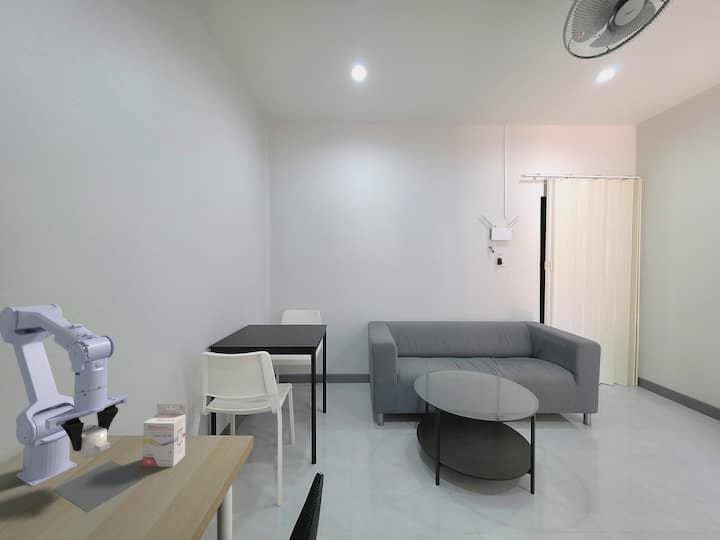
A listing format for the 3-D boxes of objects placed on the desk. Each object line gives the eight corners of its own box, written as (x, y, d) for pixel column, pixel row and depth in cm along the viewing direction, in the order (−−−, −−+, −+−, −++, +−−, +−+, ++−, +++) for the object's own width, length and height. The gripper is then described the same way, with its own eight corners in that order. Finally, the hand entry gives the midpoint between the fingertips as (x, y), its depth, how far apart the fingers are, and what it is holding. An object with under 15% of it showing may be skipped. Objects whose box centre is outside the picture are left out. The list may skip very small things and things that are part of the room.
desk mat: (52, 491, 63) (52, 489, 63) (111, 461, 73) (111, 460, 73) (87, 514, 57) (87, 512, 57) (146, 478, 67) (146, 477, 67)
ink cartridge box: (141, 468, 71) (142, 411, 71) (156, 456, 75) (157, 402, 76) (173, 468, 70) (174, 411, 71) (186, 456, 75) (186, 402, 76)
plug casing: (69, 450, 66) (69, 431, 66) (91, 441, 69) (91, 423, 69) (93, 462, 61) (94, 442, 61) (115, 452, 65) (116, 432, 65)
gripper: (56, 402, 58) (54, 467, 57) (135, 379, 71) (134, 432, 71) (41, 397, 61) (39, 459, 60) (120, 376, 74) (119, 426, 73)
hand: (89, 444), depth 66 cm, fingers closed on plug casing, 4 cm apart
